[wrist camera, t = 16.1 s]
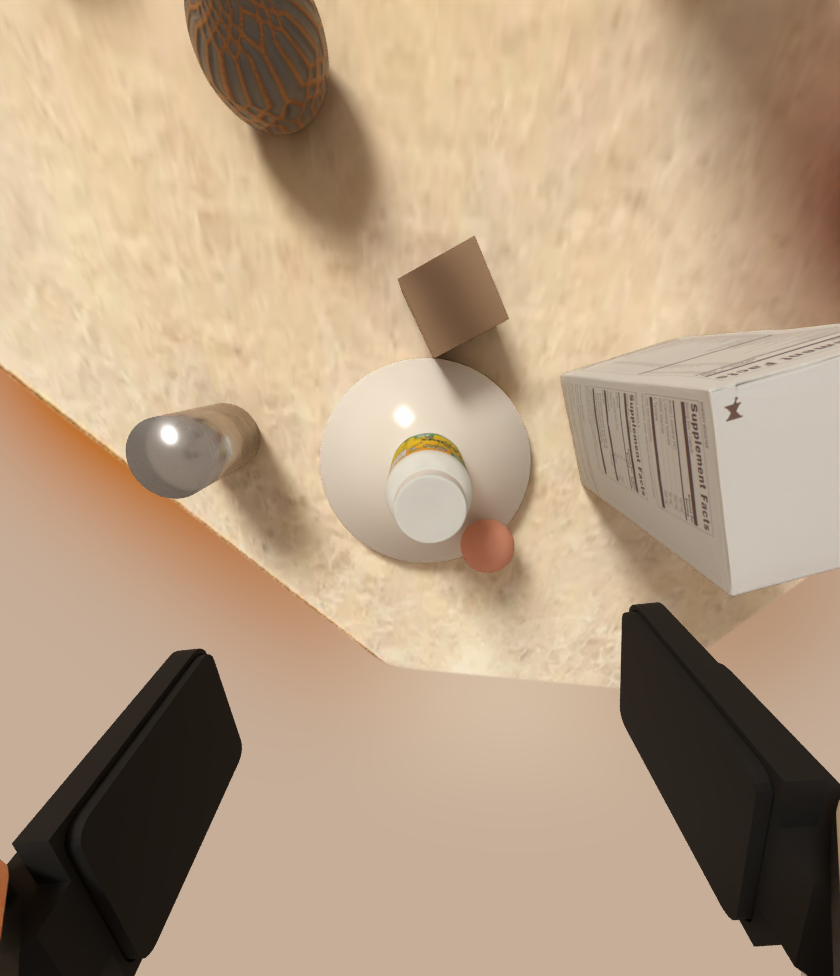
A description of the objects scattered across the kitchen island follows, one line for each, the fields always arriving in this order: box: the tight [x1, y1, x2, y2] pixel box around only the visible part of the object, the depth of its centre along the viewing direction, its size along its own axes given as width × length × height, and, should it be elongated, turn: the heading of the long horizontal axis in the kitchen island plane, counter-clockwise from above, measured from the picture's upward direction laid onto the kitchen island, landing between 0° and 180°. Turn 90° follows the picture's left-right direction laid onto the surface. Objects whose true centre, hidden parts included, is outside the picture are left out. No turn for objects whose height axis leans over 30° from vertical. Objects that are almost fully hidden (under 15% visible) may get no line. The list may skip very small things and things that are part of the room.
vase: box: [184, 0, 329, 134], centre depth 22 cm, size 7×7×9 cm
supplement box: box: [560, 323, 840, 596], centre depth 24 cm, size 10×9×17 cm
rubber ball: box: [460, 519, 514, 573], centre depth 32 cm, size 4×4×4 cm
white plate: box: [320, 358, 531, 563], centre depth 33 cm, size 16×16×1 cm
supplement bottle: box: [385, 433, 473, 544], centre depth 27 cm, size 5×5×10 cm
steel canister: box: [126, 403, 260, 499], centre depth 29 cm, size 5×5×8 cm
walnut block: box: [398, 236, 509, 358], centre depth 28 cm, size 5×5×5 cm
